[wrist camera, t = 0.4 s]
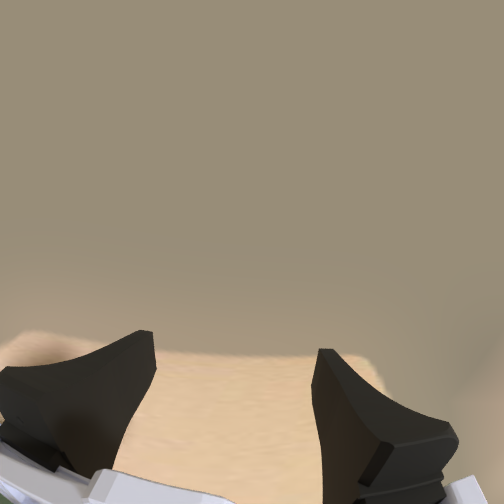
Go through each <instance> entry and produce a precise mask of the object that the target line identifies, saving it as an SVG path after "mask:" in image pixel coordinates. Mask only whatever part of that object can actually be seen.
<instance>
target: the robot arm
mask: <svg viewBox="0 0 504 504" xmlns="http://www.w3.org/2000/svg"><path fill="white" fill-rule="evenodd" d="M156 369H157V367H156V359H155V351H154V342H153V332H150V331H144V330H138V331H136V332H134V333H132V334H130V335H128V336H126V337H124V338H122V339H120V340H118V341H116V342H114V343H112V344H110V345H108V346H105V347H103V348H101V349H99V350H96V351H94V352H92V353H89V354H87V355H84V356H81V357H78V358H75V359H72V360H68V361H63V362H59V363H54V364H49V365H41V366H30V367H10V366H7V367H5V368H4V369H3V370H2V371H1V372H0V412H1V414H2V415H3V417H4V419H5V421H4V422H3V423H2V425H1V423H0V493H1V494H2V495H3V496H4V497H6V498H7V499H8V500H10V501H11V502H12V503H13V504H236V503H234V502H232V501H230V500H228V499H226V498H224V497H222V496H217V495H213V494H209V493H206V492H200V491H195V490H189V489H184V488H179V487H175V486H170V485H166V484H162V483H158V482H154V481H150V480H147V479H143V478H140V477H136V476H133V475H130V474H127V473H124V472H120V471H115V470H112V468H113V464H114V461H115V458H116V455H117V452H118V449H119V446H120V444H121V441H122V438H123V436H124V433H125V431H126V428H127V426H128V424H129V422H130V420H131V418H132V417H133V415H134V413H135V411H136V410H137V408H138V406H139V405H140V403H141V401H142V399H143V398H144V396H145V394H146V392H147V391H148V389H149V387H150V385H151V382H152V380H153V377H154V375H155V372H156ZM311 391H312V405H313V410H314V415H315V420H316V425H317V430H318V435H319V440H320V446H321V455H322V475H323V504H488V503H487V501H486V499H485V497H484V495H483V493H482V491H481V489H480V487H479V485H478V483H477V480H476V478H475V477H474V475H470V476H467V477H465V478H462V479H459V480H457V481H454V482H451V483H449V484H448V485H446V486H445V487H443V486H442V484H441V481H442V480H443V479H444V476H443V473H442V471H441V470H442V469H443V468H444V467H445V465H446V464H447V463H448V462H449V460H450V459H451V458H452V456H453V455H454V453H455V452H456V450H457V448H458V444H459V440H458V437H457V435H456V433H455V432H454V430H453V428H452V427H451V425H450V424H449V422H446V421H442V420H439V419H435V418H431V417H428V416H425V415H423V414H420V413H418V412H415V411H413V410H410V409H408V408H406V407H404V406H402V405H400V404H398V403H396V402H395V401H393V400H391V399H390V398H388V397H386V396H385V395H383V394H382V393H381V392H379V391H378V390H376V389H375V388H374V387H372V386H371V385H370V384H369V383H367V382H366V381H365V380H364V379H363V378H362V377H361V376H359V375H358V374H357V373H356V372H355V371H354V370H353V369H352V368H351V367H350V366H349V365H348V364H347V363H346V362H345V361H344V360H343V359H342V358H341V357H340V356H339V354H338V353H337V352H336V351H335V350H333V349H319V351H318V356H317V361H316V366H315V370H314V375H313V379H312V384H311Z"/></svg>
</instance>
